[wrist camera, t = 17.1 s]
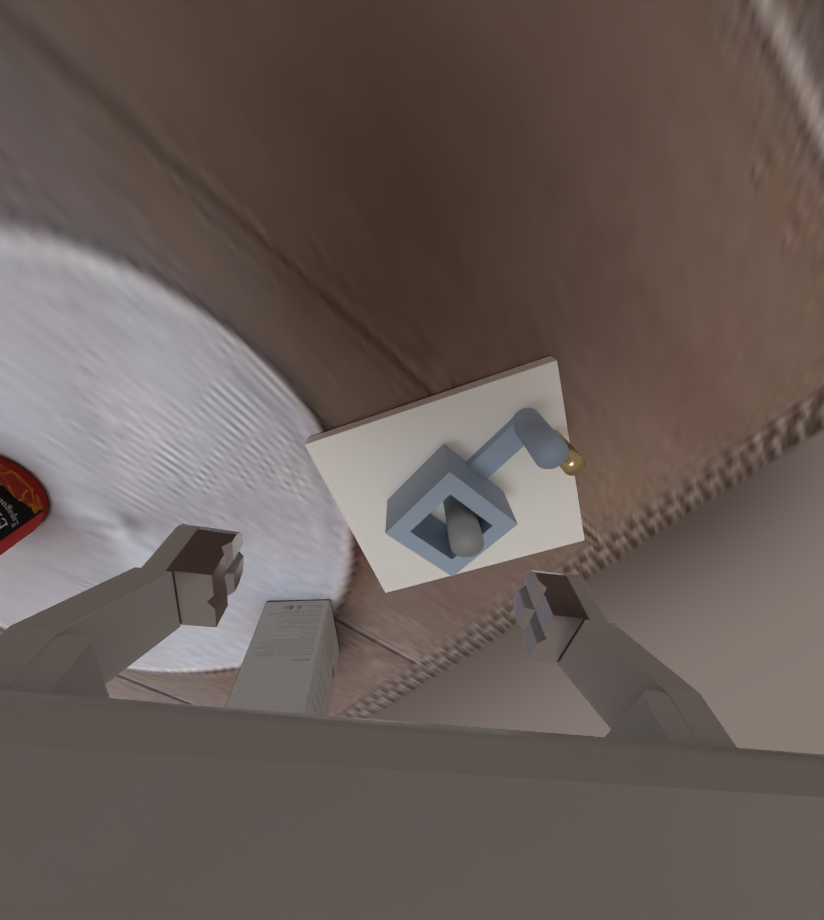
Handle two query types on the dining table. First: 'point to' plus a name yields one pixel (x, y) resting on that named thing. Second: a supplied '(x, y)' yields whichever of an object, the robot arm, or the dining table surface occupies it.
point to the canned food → (19, 504)
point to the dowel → (572, 460)
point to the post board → (463, 431)
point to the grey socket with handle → (468, 489)
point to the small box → (289, 660)
